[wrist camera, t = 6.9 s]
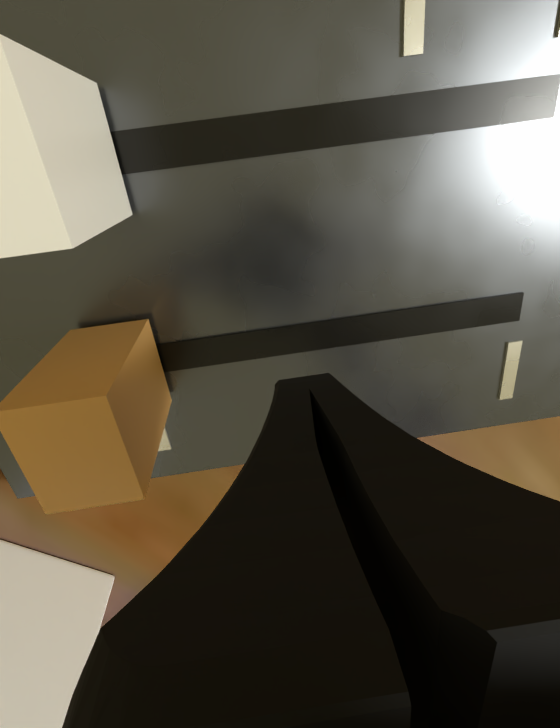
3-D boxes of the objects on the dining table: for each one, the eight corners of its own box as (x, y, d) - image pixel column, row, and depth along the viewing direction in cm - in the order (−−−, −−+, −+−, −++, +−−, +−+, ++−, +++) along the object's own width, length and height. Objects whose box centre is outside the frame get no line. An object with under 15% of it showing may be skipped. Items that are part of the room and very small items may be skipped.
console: (552, 397, 17) (575, 415, 16) (31, 476, 17) (16, 500, 15) (669, -100, 10) (723, -133, 9) (-221, 5, 10) (-283, -16, 8)
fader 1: (132, 214, 11) (73, 248, 7) (44, 226, 11) (-66, 267, 7) (97, 83, 10) (-4, 32, 6) (-5, 95, 10) (-178, 53, 6)
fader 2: (171, 400, 14) (144, 499, 10) (101, 410, 14) (45, 514, 10) (148, 318, 12) (105, 395, 8) (70, 329, 12) (-10, 412, 8)
